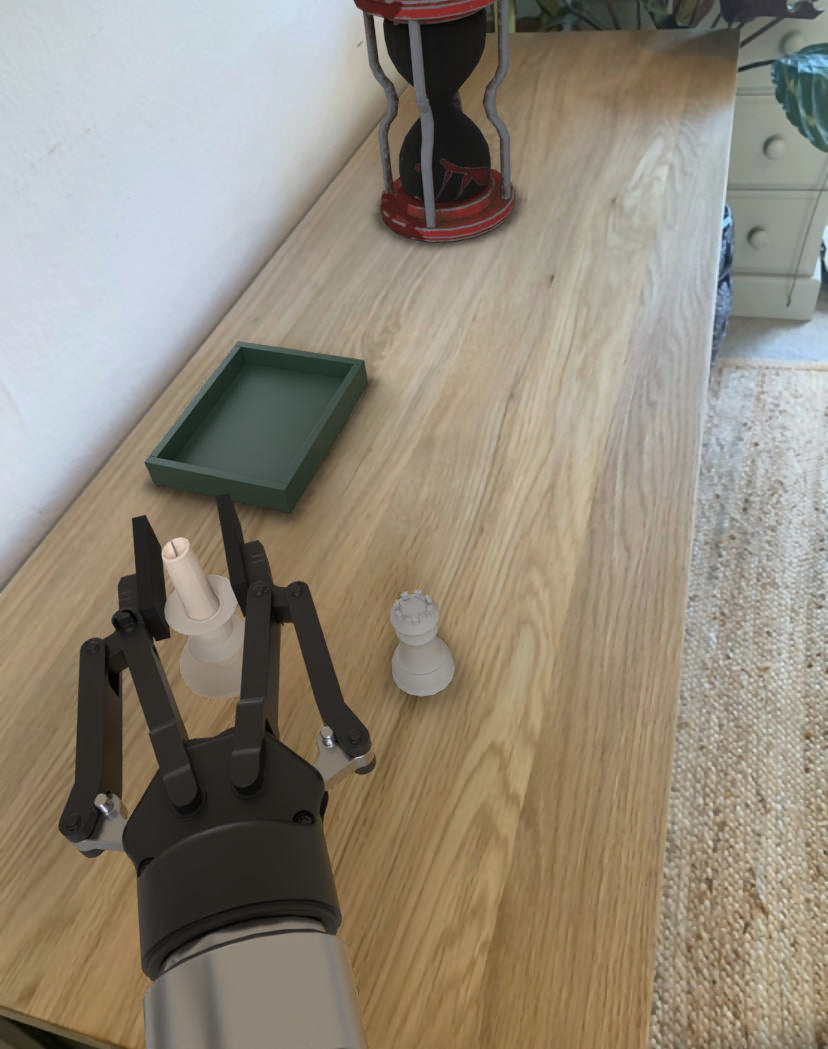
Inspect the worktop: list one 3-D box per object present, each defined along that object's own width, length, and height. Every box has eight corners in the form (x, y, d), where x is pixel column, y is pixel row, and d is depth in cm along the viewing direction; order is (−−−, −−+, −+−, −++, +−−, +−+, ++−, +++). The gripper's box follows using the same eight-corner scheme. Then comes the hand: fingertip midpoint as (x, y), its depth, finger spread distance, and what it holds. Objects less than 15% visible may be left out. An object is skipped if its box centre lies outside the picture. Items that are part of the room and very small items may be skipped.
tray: (291, 513, 72) (284, 490, 70) (154, 484, 76) (143, 462, 74) (368, 383, 82) (364, 359, 80) (244, 363, 86) (237, 340, 84)
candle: (182, 709, 46) (114, 594, 39) (181, 632, 50) (119, 512, 42) (277, 689, 47) (228, 571, 39) (270, 613, 50) (224, 491, 42)
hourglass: (402, 173, 110) (378, -53, 92) (526, 178, 106) (526, -57, 88) (364, 239, 100) (328, 1, 82) (499, 247, 96) (494, -1, 78)
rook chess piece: (409, 637, 62) (397, 569, 56) (465, 657, 61) (459, 589, 55) (381, 686, 60) (366, 621, 54) (439, 709, 58) (429, 643, 52)
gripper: (59, 1055, 34) (61, 603, 49) (467, 920, 36) (346, 526, 51) (-32, 1009, 28) (2, 516, 44) (457, 853, 30) (324, 433, 46)
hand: (187, 522), depth 47 cm, fingers closed on candle, 4 cm apart
